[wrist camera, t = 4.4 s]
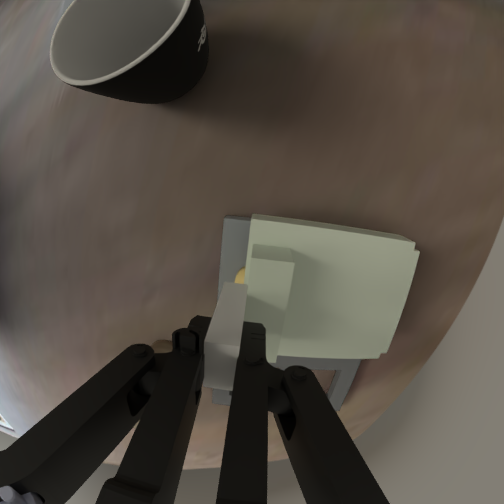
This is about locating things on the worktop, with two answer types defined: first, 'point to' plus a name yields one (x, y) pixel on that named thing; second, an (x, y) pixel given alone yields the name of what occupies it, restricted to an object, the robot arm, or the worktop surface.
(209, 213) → the worktop surface
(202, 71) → the mug
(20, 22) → the worktop surface
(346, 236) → the cover
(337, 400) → the socket board
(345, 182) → the worktop surface
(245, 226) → the board
